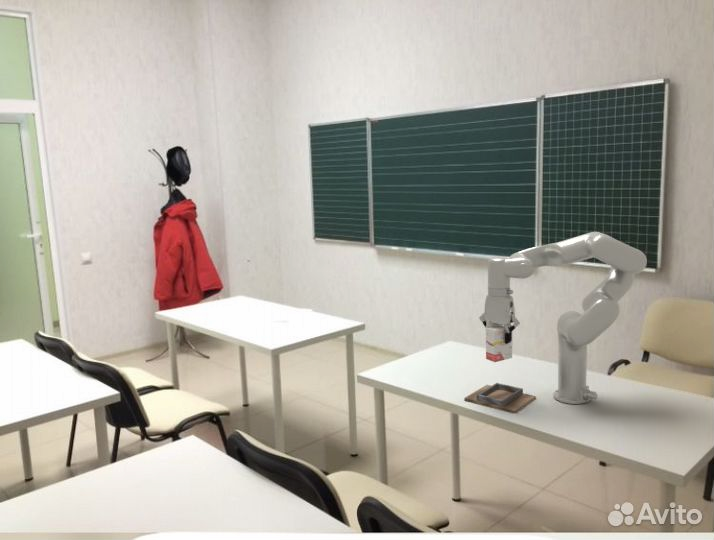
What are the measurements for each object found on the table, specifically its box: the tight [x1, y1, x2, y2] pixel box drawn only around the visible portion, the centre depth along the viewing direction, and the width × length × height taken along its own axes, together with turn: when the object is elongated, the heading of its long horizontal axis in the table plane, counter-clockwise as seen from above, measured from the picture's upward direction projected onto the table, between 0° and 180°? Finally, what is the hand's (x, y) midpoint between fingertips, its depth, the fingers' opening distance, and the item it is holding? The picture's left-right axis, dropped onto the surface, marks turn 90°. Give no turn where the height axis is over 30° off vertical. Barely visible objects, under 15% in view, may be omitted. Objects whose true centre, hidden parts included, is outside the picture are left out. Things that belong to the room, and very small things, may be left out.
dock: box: [464, 382, 537, 414], centre depth 221 cm, size 20×16×3 cm
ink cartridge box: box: [485, 319, 513, 363], centre depth 218 cm, size 9×5×15 cm, turn 120°
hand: (499, 340), depth 218 cm, fingers closed on ink cartridge box, 6 cm apart
